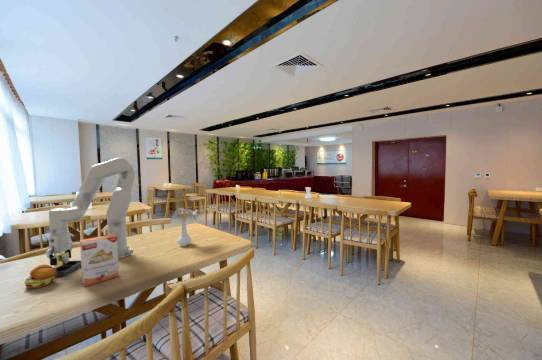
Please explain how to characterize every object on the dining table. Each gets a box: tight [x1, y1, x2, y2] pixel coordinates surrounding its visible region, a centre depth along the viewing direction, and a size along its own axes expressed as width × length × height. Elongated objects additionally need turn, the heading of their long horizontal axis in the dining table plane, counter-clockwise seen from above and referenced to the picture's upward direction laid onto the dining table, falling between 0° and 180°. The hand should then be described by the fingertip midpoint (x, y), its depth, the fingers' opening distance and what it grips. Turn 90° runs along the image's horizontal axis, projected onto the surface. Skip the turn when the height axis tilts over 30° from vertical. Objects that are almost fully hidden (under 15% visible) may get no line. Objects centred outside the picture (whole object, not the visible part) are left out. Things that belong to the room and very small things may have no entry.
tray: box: [54, 259, 81, 278], centre depth 127 cm, size 7×14×2 cm, turn 4°
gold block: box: [53, 252, 70, 269], centre depth 132 cm, size 5×4×7 cm
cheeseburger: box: [24, 264, 57, 290], centre depth 112 cm, size 10×11×10 cm
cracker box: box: [79, 234, 120, 287], centre depth 116 cm, size 14×6×21 cm, turn 135°
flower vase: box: [170, 208, 199, 247], centre depth 165 cm, size 13×18×25 cm
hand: (61, 261), depth 132 cm, fingers open, 9 cm apart
